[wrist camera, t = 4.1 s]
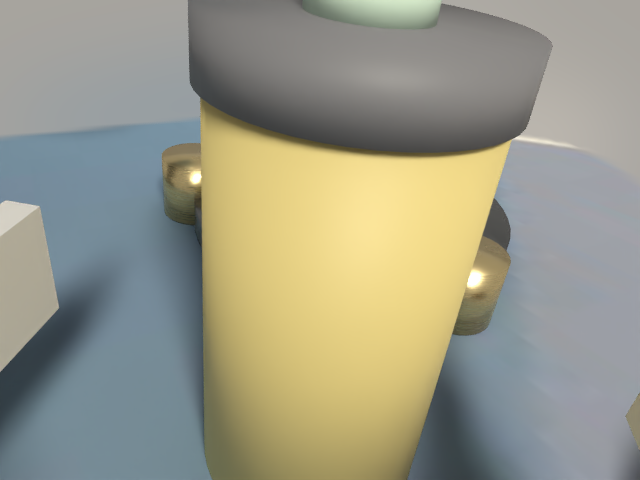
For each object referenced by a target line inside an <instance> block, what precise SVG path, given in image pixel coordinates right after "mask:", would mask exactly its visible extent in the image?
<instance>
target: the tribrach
mask: <svg viewBox="0 0 640 480" xmlns="http://www.w3.org/2000/svg"><path fill="white" fill-rule="evenodd" d="M162 169H163V188H164V207H165V213H166V215H167V216H168V217H169V218H170V219H172V220H174V221H176V222H179V223H183V224H189V225H195V232H196V235H197V238H198V241H199V243H200V245H201V247H202V195H201V143H187V144H179V145H175V146H172V147H170V148H168V149H166V150H165V151H164V152H163V153H162ZM509 241H510V225H509V221H508V218H507V216H506V214H505V212H504V210H503V209H502V207H501V206H500V205H499V203H498V202H497V201H496V200H495V199H493V202H492V205H491V208H490V212H489V215H488V218H487V221H486V225H485V228H484V231H483V234H482V238H481V241H480V244H479V247H478V251H477V254H476V257H475V260H474V264H473V267H472V270H471V273H470V277H469V280H468V283H467V287H466V290H465V293H464V296H463V300H462V303H461V306H460V309H459V313H458V316H457V319H456V322H455V326H454V329H453V332H452V334H455V335H474V334H477V333H480V332H482V331H484V330H485V329H486V328H487V327H488V325H489V323H490V320H491V317H492V314H493V312H494V309H495V306H496V303H497V300H498V297H499V295H500V292H501V289H502V286H503V283H504V280H505V277H506V275H507V272H508V269H509V266H510V263H511V260H510V256H509V254H508V253H507V251H506V250H507V247H508V244H509Z"/></svg>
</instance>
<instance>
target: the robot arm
mask: <svg viewBox="0 0 640 480" xmlns="http://www.w3.org/2000/svg"><path fill="white" fill-rule="evenodd" d="M58 309H59V305H58V300H57V294H56V289H55V284H54V279H53V273H52V268H51V263H50V258H49V252H48V247H47V242H46V237H45V232H44V226H43V221H42V216H41V211H40V206H35V205H29V204H23V203H18V202H12V201H4V202H3V203H1V204H0V372H1V371H2V370H3V368H4V367H5V366H6V365H7V364H8V363H9V362H10V361H11V360H12V359H13V358H14V356H15V355H16V354H17V353H18V352H19V351H20V350H21V349H22V348H23V347H24V346H25V345H26V343H27V342H28V341H29V340H30V339H31V338H32V337H33V336H34V335H35V334H36V333H37V332H38V330H39V329H40V328H41V327H42V326H43V325H44V324H45V323H46V322H47V321H48V320H49V319H50V317H51V316H52V315H53V314H54V313H55V312H56V311H57V310H58ZM626 419H627V421H628V423H629V426H630V428H631V431H632V433H633V436H634V438H635V440H636V443H637V445H638V448H639V450H640V393H639V394H638V396H637V398H636V399H635V401H634V403H633V405H632V406H631V408H630V410H629V411H628V413H627V415H626Z"/></svg>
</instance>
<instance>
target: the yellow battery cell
mask: <svg viewBox="0 0 640 480" xmlns="http://www.w3.org/2000/svg"><path fill="white" fill-rule="evenodd" d="M441 2H442V0H188V23H189V26H188V27H189V70H190V71H189V72H190V83H191V86H192V88H193V90H194V91H195V92H196V93H197V94H198V95H199V96H200V102H201V103H200V106H201V107H200V110H201V195H202V280H203V364H204V444H205V457H206V462H207V467H208V469H209V472H210V475H211V477H212V480H407V478H408V475H409V472H410V469H411V465H412V462H413V459H414V456H415V452H416V449H417V446H418V443H419V439H420V436H421V433H422V430H423V426H424V423H425V420H426V417H427V413H428V410H429V407H430V404H431V400H432V397H433V394H434V391H435V387H436V384H437V381H438V378H439V374H440V371H441V368H442V365H443V361H444V358H445V355H446V352H447V348H448V345H449V342H450V339H451V335H452V332H453V329H454V326H455V322H456V319H457V316H458V313H459V309H460V306H461V303H462V300H463V296H464V293H465V290H466V287H467V283H468V280H469V277H470V273H471V270H472V267H473V264H474V260H475V257H476V254H477V251H478V247H479V244H480V241H481V238H482V234H483V231H484V228H485V225H486V221H487V218H488V215H489V212H490V208H491V205H492V202H493V199H494V195H495V192H496V189H497V186H498V182H499V179H500V176H501V173H502V169H503V166H504V163H505V160H506V156H507V153H508V150H509V147H510V143H511V140H512V139H513V138H515V137H517V136H519V135H520V134H521V133H522V132H523V131H524V130H525V129H526V127H527V124H528V122H529V119H530V116H531V113H532V110H533V106H534V103H535V100H536V97H537V94H538V91H539V88H540V84H541V81H542V78H543V75H544V72H545V69H546V66H547V62H548V59H549V56H550V53H551V50H552V47H553V46H552V43H551V41H550V40H549V39H548V38H547V37H545V36H544V35H542V34H540V33H539V32H537V31H535V30H533V29H531V28H528V27H526V26H523V25H520V24H518V23H515V22H512V21H509V20H506V19H503V18H499V17H495V16H493V15H489V14H485V13H481V12H477V11H473V10H469V9H465V8H460V7H456V6H451V5H446V4H441Z"/></svg>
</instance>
